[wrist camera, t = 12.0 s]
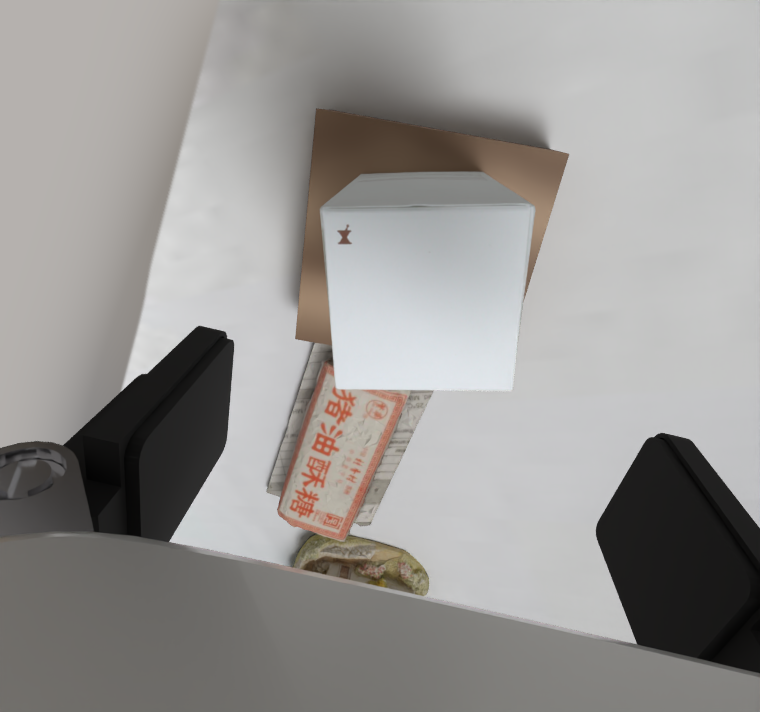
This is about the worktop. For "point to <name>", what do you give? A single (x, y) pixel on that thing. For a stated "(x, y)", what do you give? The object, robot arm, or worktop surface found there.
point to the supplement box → (426, 281)
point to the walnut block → (408, 154)
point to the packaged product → (341, 449)
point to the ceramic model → (363, 563)
